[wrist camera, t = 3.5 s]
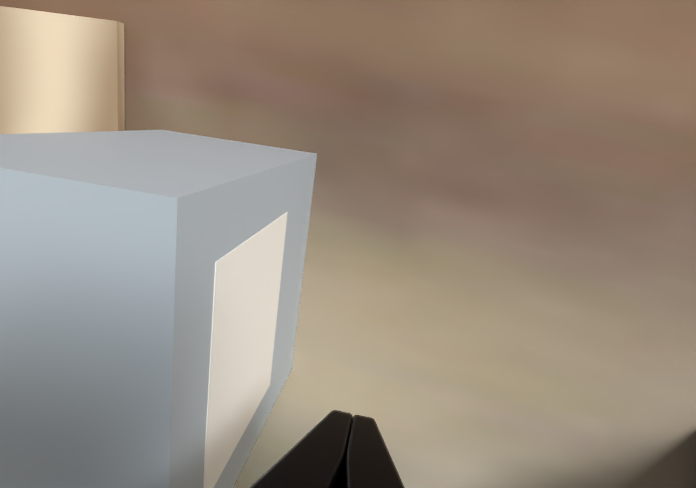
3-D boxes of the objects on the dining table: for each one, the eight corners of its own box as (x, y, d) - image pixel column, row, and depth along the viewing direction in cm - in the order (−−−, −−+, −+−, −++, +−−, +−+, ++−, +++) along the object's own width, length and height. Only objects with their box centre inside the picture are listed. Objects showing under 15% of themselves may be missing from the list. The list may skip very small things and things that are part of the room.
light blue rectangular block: (317, 153, 16) (179, 197, 7) (292, 368, 19) (165, 625, 9) (163, 129, 17) (-171, 138, 7) (158, 341, 19) (-92, 555, 10)
